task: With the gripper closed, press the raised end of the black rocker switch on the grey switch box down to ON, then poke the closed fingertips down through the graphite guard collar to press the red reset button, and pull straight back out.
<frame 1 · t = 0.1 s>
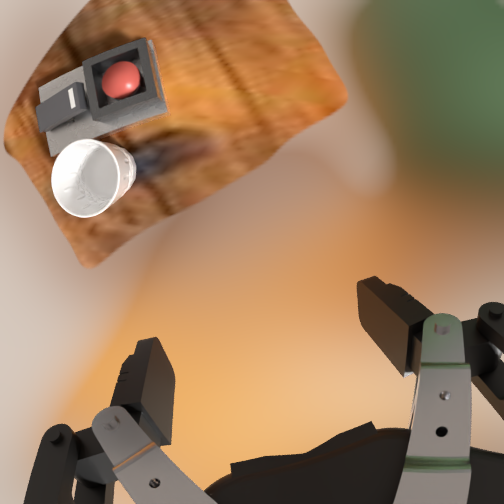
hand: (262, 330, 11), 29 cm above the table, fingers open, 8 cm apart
white cup: (112, 171, 35), on the table
rocker: (60, 107, 27), point 5 cm above the table, hinge at 14.0°
reset button: (121, 80, 27), point 5 cm above the table, slide at 0.0 cm
grey switch box: (104, 99, 32), on the table
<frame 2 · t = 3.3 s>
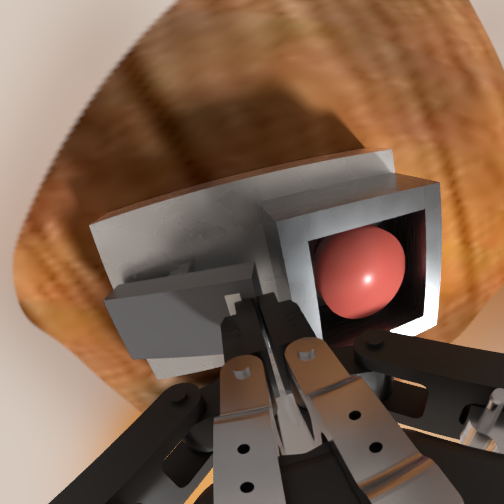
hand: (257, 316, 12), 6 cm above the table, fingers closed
white cup: (270, 374, 22), on the table
rocker: (186, 316, 13), point 5 cm above the table, hinge at 13.8°, touching gripper
reset button: (359, 270, 14), point 5 cm above the table, slide at 0.0 cm
grey switch box: (258, 255, 18), on the table
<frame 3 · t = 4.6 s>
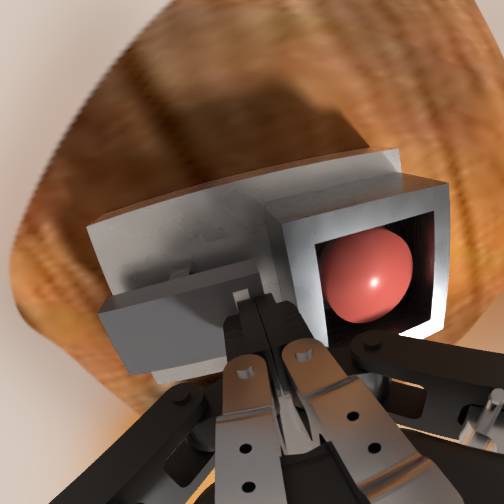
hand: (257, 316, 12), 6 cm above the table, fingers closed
white cup: (272, 377, 21), on the table
rocker: (187, 321, 13), point 5 cm above the table, hinge at 0.1°, touching gripper
reset button: (366, 273, 13), point 5 cm above the table, slide at 0.0 cm
grey switch box: (261, 257, 18), on the table
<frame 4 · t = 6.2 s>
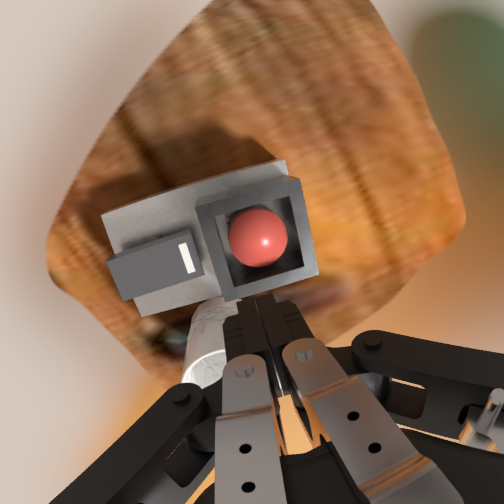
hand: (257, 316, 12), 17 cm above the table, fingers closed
white cup: (223, 322, 32), on the table
rocker: (155, 265, 23), point 5 cm above the table, hinge at -5.8°
reset button: (257, 236, 23), point 5 cm above the table, slide at 0.0 cm
grey switch box: (206, 233, 28), on the table
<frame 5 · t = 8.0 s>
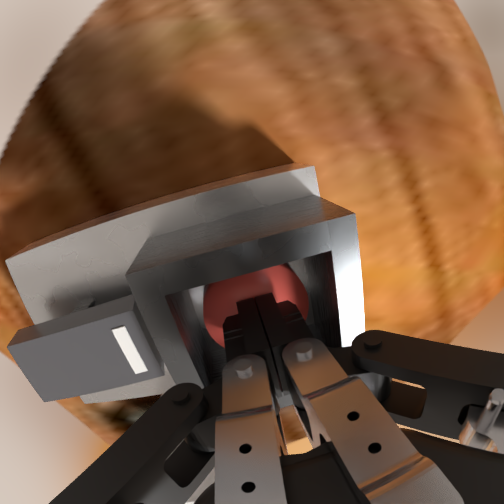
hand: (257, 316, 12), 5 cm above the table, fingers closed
white cup: (206, 402, 20), on the table
rocker: (83, 354, 12), point 5 cm above the table, hinge at -7.3°
reset button: (254, 304, 13), point 4 cm above the table, slide at -1.1 cm
grey switch box: (174, 286, 17), on the table
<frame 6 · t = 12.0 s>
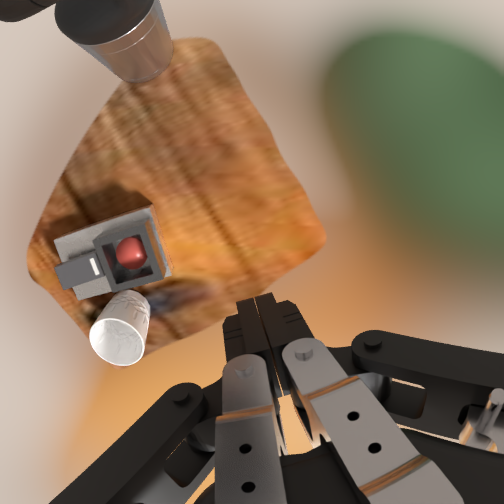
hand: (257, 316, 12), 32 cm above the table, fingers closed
white cup: (130, 307, 46), on the table
rocker: (80, 270, 37), point 5 cm above the table, hinge at -7.6°
reset button: (132, 252, 39), point 4 cm above the table, slide at -1.3 cm
grey switch box: (114, 250, 42), on the table
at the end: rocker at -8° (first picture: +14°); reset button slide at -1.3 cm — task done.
